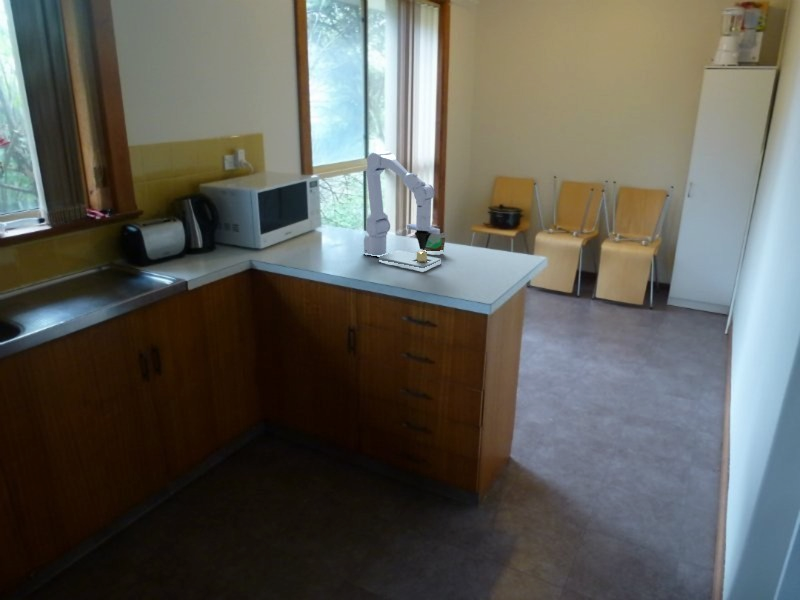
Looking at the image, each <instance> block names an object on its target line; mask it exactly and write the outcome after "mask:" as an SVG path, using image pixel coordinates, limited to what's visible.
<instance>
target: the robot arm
mask: <svg viewBox="0 0 800 600" xmlns="http://www.w3.org/2000/svg"><path fill="white" fill-rule="evenodd" d="M366 164H367V165H366V171H365V172H366V181H367V190H368V191H367V192H368V200H369V210H370V213H369V215H368V217H366V225H365V230H366V233H367V234H365V236H364V238H363V253H368V254H372V255H382V254H385V253H387V236H388V233H389V231H390V230H391V224H390V221H389V218H388V215H387V214H386V213H385V212H384V203H383V193H382V185H381V183H382V182H381V174H382V173H383V172H384V171H385V170H386V169H390V170H391V171H392V172H393V173H394V174H395V175H397V176H398V177H400V178H401V180H403V181H402V183H403V185H404V186H405V187H406V188H407V189H408V190H410V192H412V193H413V196H414V199H415V203H416V219H415V220H416V222H415V223H416V224H415V223H407V225H406V230H412V231H415V232H414V235H415V237H416V239H417V242H418V246H419V250H421V251H423V249H425V247H426V244H427V241H428V239H429V237H430V235H431V233H434V234H440V233H441V229H440V228H436V227H433V226H432V225H431V221H432V220H431V218H432V199H433V198H435V197H434V196H435V189H434V187H433V185H432V184H426V182H424V181H423V180H421V178H419V177H418V174H417V173H414V172H408V170H407V169H406V168H405V167H404V166H403V165H402V164H401V163H400V162H399V161H398V160H397V158H396V155H395V154H393V153H392V152H391V151H389V150H385V151H377V152H371V153H370V154H369V155H368V156H367V158H366Z"/></svg>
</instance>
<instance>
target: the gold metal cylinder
mask: <svg viewBox="0 0 800 600" xmlns="http://www.w3.org/2000/svg"><path fill="white" fill-rule="evenodd" d="M416 254H417V262H420V263H424V264H425V263H427V256H428V255H427V252H425V251H423V250H420V251H417V252H416Z"/></svg>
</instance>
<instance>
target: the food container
mask: <svg viewBox="0 0 800 600" xmlns="http://www.w3.org/2000/svg"><path fill="white" fill-rule="evenodd" d="M447 235H448V234H447V232H446V231H445V232H440V234H434V233H431V235H430V237H429V239H428V241H427V244H426V247H425V249H423V250H426V251H440V250H443V251H444V249H445V242H446V238H447V237H448V236H447ZM423 250H422V251H423Z"/></svg>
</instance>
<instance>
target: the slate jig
mask: <svg viewBox="0 0 800 600" xmlns="http://www.w3.org/2000/svg"><path fill="white" fill-rule="evenodd" d="M387 253H388V254H386V255H383V256H380V257H379V258H378V261H379V260H382V261H388V262H394V263H398V264H404V265H409V266H414V267H419V268H425V267H427V266H430V265H432V264H434V263H436V262H438V261H440V260H441V261H442V258H439V257H434V256H431V255H427V261H429V262H427V263H425V264H424V263H420V262H415V261H417V253H414V252H409V251H405V250H402V249H401V250H399V249H397V250H394V251H390V252H387Z"/></svg>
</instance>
